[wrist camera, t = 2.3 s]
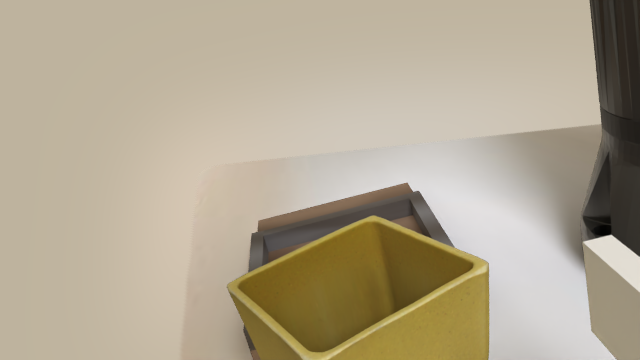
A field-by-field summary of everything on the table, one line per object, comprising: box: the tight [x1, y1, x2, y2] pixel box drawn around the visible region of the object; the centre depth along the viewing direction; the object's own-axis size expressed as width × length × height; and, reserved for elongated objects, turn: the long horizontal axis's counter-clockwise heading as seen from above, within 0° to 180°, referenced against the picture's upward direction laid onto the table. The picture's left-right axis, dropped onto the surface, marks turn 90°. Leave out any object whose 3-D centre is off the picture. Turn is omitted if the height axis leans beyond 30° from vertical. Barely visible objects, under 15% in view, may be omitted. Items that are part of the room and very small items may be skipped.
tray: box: [244, 183, 455, 360], centre depth 46 cm, size 20×14×2 cm
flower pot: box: [227, 215, 489, 360], centre depth 28 cm, size 9×9×9 cm
